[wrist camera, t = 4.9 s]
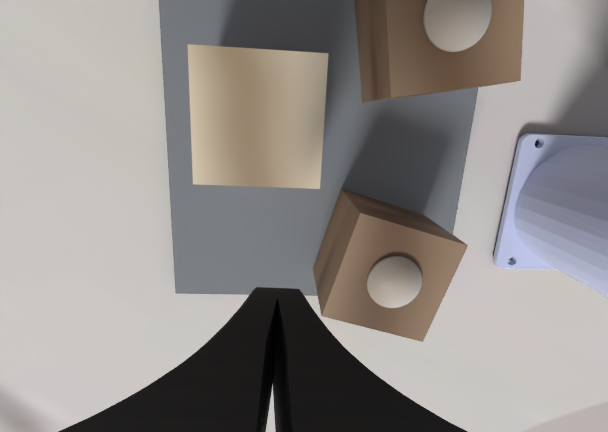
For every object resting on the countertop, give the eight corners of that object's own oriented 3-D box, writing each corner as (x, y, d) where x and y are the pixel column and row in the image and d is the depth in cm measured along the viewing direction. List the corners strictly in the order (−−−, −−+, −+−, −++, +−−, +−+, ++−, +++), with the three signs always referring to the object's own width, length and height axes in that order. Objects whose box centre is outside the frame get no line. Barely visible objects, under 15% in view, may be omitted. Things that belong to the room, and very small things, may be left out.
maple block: (315, 70, 17) (328, 53, 13) (310, 170, 19) (319, 188, 14) (214, 64, 17) (187, 44, 12) (216, 166, 18) (192, 184, 14)
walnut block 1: (457, -20, 17) (531, -79, 12) (457, 90, 18) (523, 80, 13) (353, -7, 16) (384, -61, 11) (361, 102, 18) (392, 97, 13)
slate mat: (489, -15, 17) (496, -19, 17) (437, 292, 22) (441, 297, 21) (160, -41, 16) (156, -47, 16) (178, 288, 21) (175, 293, 20)
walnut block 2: (423, 214, 20) (470, 247, 15) (390, 290, 21) (424, 344, 16) (341, 188, 19) (361, 214, 14) (312, 268, 20) (322, 318, 15)
